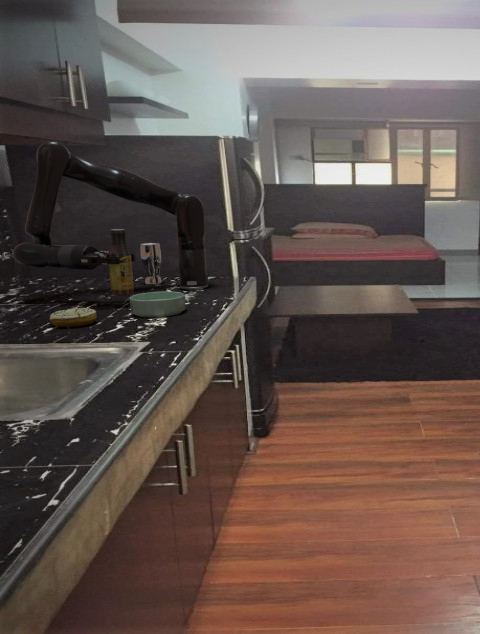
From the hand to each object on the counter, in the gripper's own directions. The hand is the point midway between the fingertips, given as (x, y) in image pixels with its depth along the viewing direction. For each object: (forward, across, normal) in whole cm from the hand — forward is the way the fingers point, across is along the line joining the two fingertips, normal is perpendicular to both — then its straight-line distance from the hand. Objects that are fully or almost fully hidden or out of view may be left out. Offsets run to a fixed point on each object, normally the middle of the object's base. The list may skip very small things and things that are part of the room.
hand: (126, 259), depth 181 cm
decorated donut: (+1, -24, +15) cm, 28 cm away
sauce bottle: (-2, 0, +11) cm, 11 cm away
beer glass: (-19, +39, +15) cm, 46 cm away
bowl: (+14, -6, +15) cm, 21 cm away
